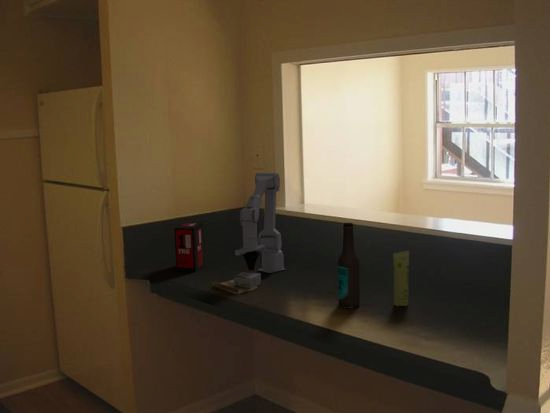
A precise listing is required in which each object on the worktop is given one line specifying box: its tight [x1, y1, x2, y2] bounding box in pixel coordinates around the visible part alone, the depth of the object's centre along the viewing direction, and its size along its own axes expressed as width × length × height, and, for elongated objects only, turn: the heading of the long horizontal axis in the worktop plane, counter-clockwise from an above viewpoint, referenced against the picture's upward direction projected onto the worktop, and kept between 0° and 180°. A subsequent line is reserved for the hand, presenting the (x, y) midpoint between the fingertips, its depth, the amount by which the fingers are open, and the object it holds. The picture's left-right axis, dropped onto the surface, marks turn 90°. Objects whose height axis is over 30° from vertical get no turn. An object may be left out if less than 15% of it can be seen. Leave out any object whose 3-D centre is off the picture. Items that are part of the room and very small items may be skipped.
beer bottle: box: [337, 222, 361, 309], centre depth 218 cm, size 8×8×30 cm
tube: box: [392, 250, 410, 307], centre depth 218 cm, size 6×5×20 cm
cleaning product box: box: [173, 221, 206, 273], centre depth 284 cm, size 16×9×20 cm, turn 172°
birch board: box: [212, 279, 259, 295], centre depth 248 cm, size 11×16×2 cm
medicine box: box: [233, 271, 262, 289], centre depth 248 cm, size 8×4×9 cm
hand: (251, 269), depth 253 cm, fingers closed
